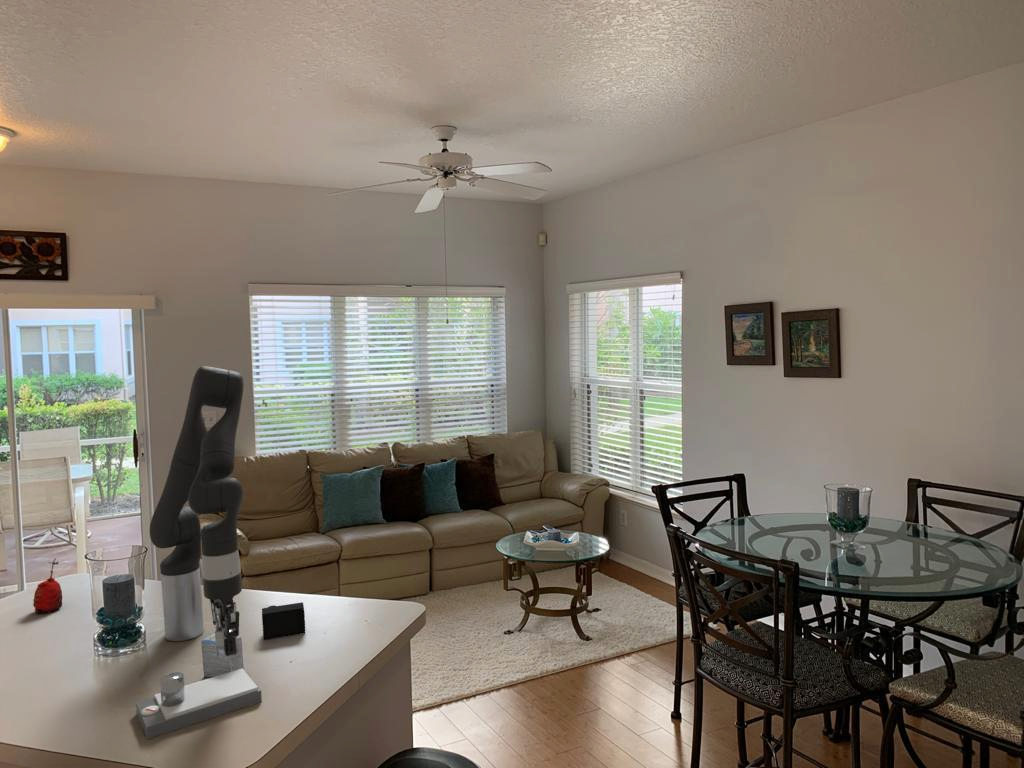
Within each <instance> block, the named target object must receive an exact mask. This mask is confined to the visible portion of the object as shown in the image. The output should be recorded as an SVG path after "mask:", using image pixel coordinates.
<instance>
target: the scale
mask: <svg viewBox="0 0 1024 768" xmlns="http://www.w3.org/2000/svg"><path fill="white" fill-rule="evenodd" d="M184 688H185V700H184V701H183V702H182V703H180V704H178V705H175V706H163V705H162V704H161V692H159V693H155V694H154V696H153V697H150V698H146V699H143V700H140V701H136V702H135V708H136V710H135V711H136V716H137V718H138V720H139V722H140V724H141V727H142V730H143V731H144V734H145V736H146V739H147V740H150V739H152V738H155V737H156V738H157V737H158V736H161V735H164V734H168V733H170V732H174V731H176V730H179V729H182V728H186V727H188V726H191V725H195V724H198V723H200V722H203V721H206V720H210V719H212V718H213V719H214V718H216V717H218V716H221V715H225V714H228V713H230V712H231V713H232V712H234V711H237V710H239V709H242V708H246V707H249V706H252V705H255V704H258V703H262V702H263V699H262V698H263V697H262V690H261V689H260V687H259V686H258V685H257V684H256V682H255V681H254V680H253V679H252V677H251V676H250V675H249V674H248V672H247V671H246V670H245V668H244V669H243V668H242V669H239V670H235V671H232V672H229V673H225V674H222V675H219V676H215V677H209V678H205V679H202V680H199V681H196V682H192V683H189V684H186V685H185V684H184Z"/></svg>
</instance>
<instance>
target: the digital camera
mask: <svg viewBox="0 0 1024 768" xmlns="http://www.w3.org/2000/svg"><path fill="white" fill-rule="evenodd" d="M305 618H306V617H305V606H304V602H303V601H302V602H296V603H289V604H283V605H269V606H267V607H262V608H261V622H262V637H263V641H268V640H273V639H279V638H285V637H291V636H298V635H303V634H304V635H305V634H306V619H305Z"/></svg>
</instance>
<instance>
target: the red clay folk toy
mask: <svg viewBox="0 0 1024 768" xmlns="http://www.w3.org/2000/svg"><path fill="white" fill-rule="evenodd" d="M56 560H57V558H54V559H53V561H52V562H50V561H48V563H49V564H52V566H51V570H49V572H50V576H49V578H47V579H46V580H44V581H42V582H40V583H38V584H37V587H36V589H35V591H34V595H33V605H32V606H33V607H34V611H35V614H39V615H40V614H41V613H42V614H47V613H51V612H55V611H56V610H57V611H58V610H59V609H61V608H62V606H63V591H62V590H63V589H62V588H61V585H60V583H59V582H58V581H57V580H56V579H55V577H53V572H54V571H53V569H54V565H59V561H58V560H57V561H56ZM55 561H56V562H55Z"/></svg>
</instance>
